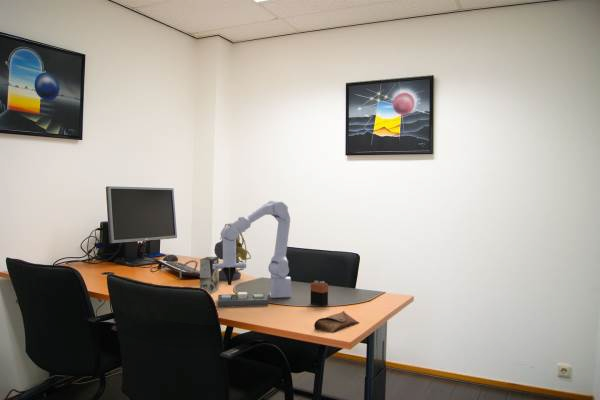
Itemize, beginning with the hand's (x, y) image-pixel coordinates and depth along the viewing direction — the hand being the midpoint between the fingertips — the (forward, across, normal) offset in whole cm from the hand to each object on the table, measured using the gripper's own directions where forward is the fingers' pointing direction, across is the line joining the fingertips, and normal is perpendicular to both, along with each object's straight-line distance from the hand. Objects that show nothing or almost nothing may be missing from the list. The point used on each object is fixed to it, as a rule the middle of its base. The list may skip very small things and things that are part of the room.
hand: (229, 284), depth 214 cm
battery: (+8, +38, -8) cm, 40 cm away
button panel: (+8, +6, -2) cm, 10 cm away
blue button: (+7, -2, -2) cm, 8 cm away
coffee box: (+8, -9, +23) cm, 26 cm away
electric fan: (+8, -7, +50) cm, 51 cm away
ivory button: (+6, +6, -2) cm, 9 cm away
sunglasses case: (+9, +39, -40) cm, 57 cm away
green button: (+8, +12, -2) cm, 15 cm away
